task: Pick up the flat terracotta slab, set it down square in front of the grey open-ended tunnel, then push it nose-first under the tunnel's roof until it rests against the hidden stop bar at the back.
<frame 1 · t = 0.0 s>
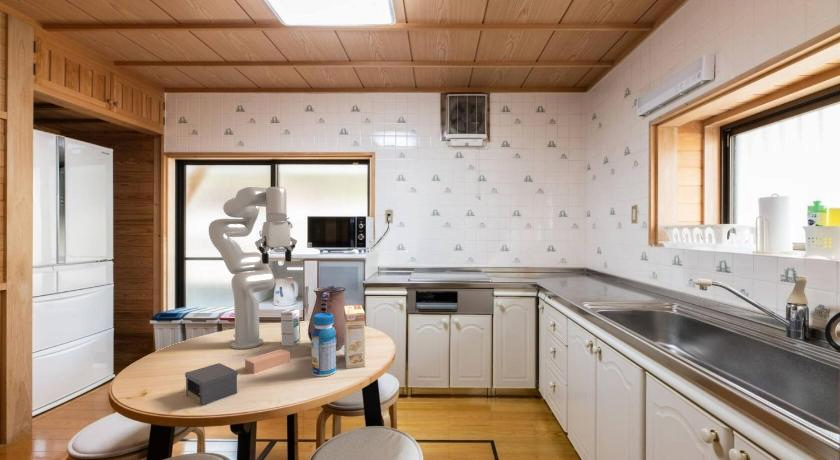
hand: (277, 262, 146), 37 cm above the table, tool pointing down, fingers open, 9 cm apart
ceramic pitcher: (329, 349, 153), on the table
syrup box: (290, 344, 161), on the table
beverage bottle: (324, 373, 129), on the table
grey open-ended tunnel: (215, 393, 113), on the table
coffeecake box: (354, 361, 140), on the table
terracotta slab: (268, 366, 136), on the table
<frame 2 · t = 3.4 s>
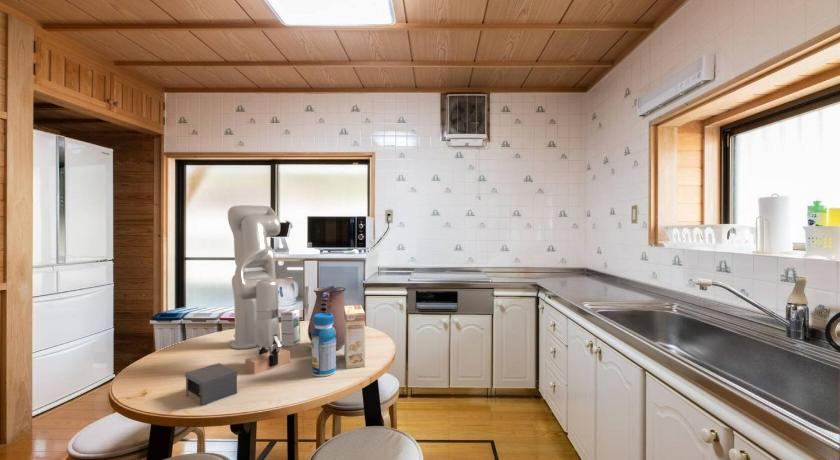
hand: (268, 363, 136), 1 cm above the table, tool pointing down, fingers closed on terracotta slab, 6 cm apart
terracotta slab: (268, 366, 135), on the table, touching gripper
everything else where it was.
when the fingers open (2 cm above the table, at t = 8.3 s): terracotta slab drops 2 cm, on the table.
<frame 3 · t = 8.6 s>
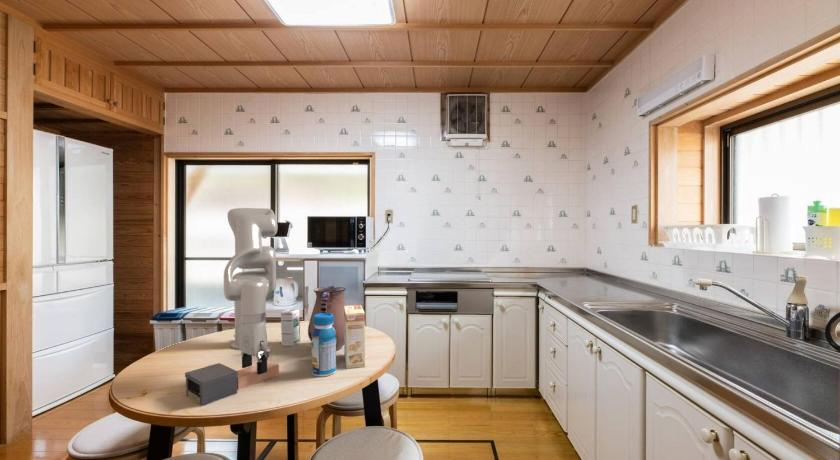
hand: (254, 369, 123), 3 cm above the table, tool pointing down, fingers open, 9 cm apart
terracotta slab: (254, 380, 123), on the table
everything else where it was.
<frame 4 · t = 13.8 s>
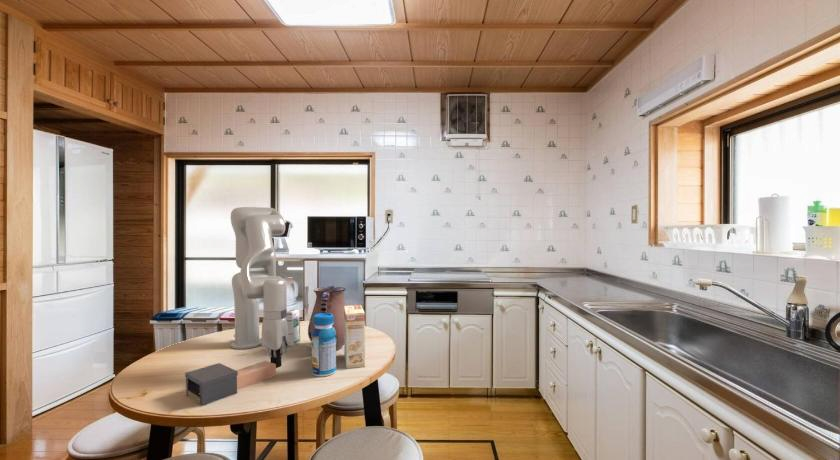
hand: (276, 367, 130), 2 cm above the table, tool pointing down, fingers closed
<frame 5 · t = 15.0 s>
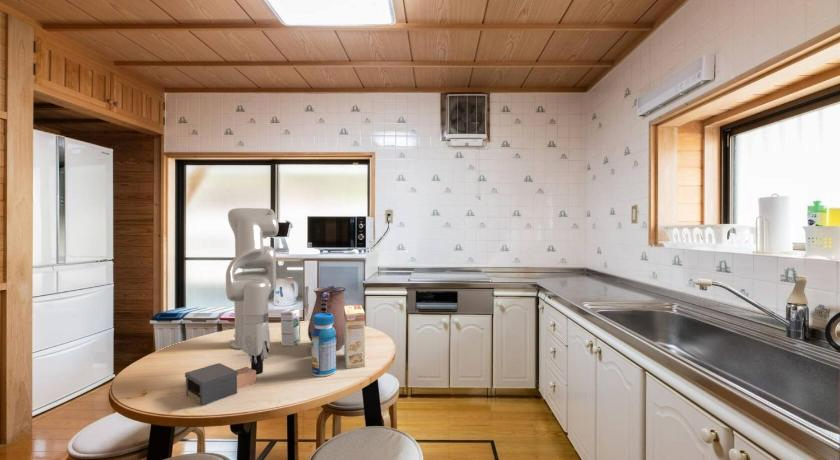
hand: (257, 373, 124), 2 cm above the table, tool pointing down, fingers closed
terracotta slab: (230, 388, 118), on the table
everything else where it was.
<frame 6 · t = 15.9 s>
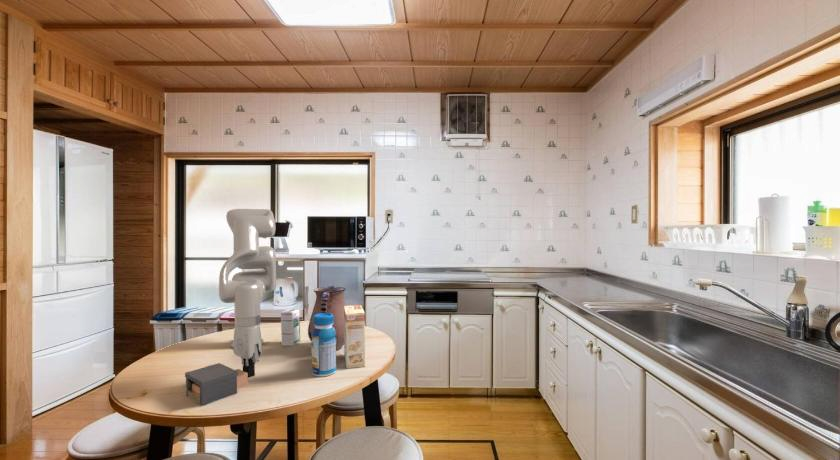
hand: (248, 376, 122), 2 cm above the table, tool pointing down, fingers closed
terracotta slab: (220, 390, 115), on the table, touching gripper, grey open-ended tunnel
everything else where it was.
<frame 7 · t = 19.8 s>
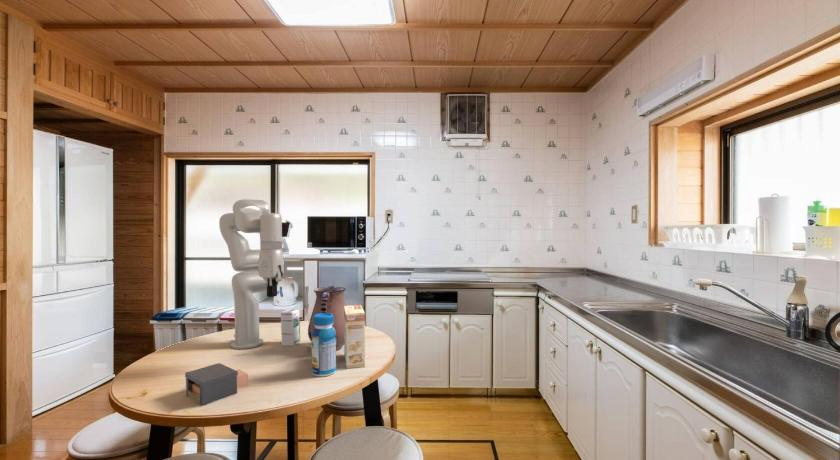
hand: (272, 296, 137), 25 cm above the table, tool pointing down, fingers closed
terracotta slab: (221, 391, 116), on the table
everything else where it was.
at the end: terracotta slab 0.9 cm from the target spot, on the table; terracotta slab tilted 0°; the gripper is holding nothing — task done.
